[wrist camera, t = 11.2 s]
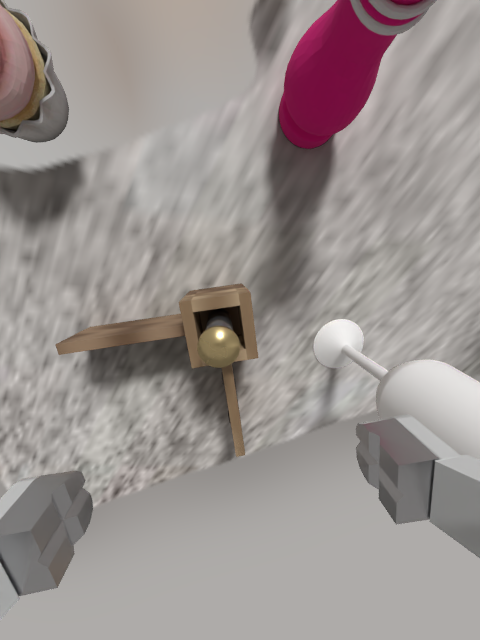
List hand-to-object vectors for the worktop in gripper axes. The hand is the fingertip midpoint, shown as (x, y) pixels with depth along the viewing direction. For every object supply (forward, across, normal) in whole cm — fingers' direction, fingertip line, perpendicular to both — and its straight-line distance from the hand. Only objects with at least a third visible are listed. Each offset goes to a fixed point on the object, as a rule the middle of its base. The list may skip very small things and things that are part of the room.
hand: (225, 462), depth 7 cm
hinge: (+22, +6, +6) cm, 24 cm away
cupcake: (+22, +14, -22) cm, 34 cm away
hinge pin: (+19, 0, 0) cm, 19 cm away
